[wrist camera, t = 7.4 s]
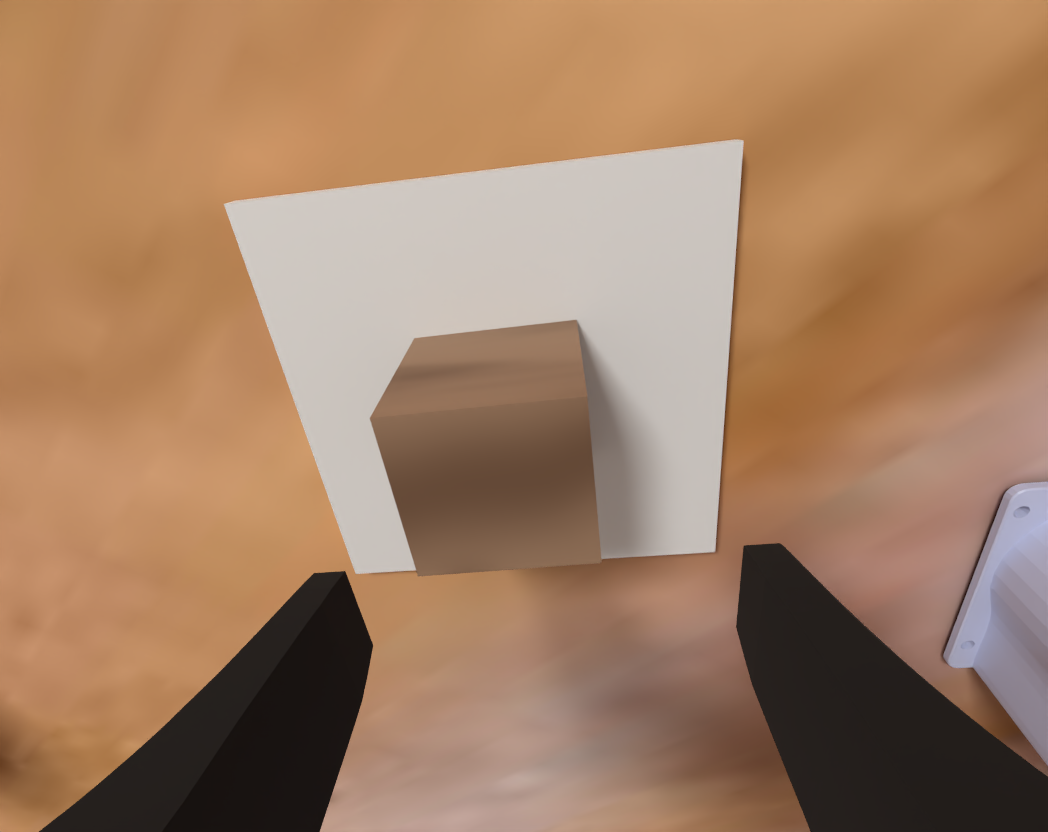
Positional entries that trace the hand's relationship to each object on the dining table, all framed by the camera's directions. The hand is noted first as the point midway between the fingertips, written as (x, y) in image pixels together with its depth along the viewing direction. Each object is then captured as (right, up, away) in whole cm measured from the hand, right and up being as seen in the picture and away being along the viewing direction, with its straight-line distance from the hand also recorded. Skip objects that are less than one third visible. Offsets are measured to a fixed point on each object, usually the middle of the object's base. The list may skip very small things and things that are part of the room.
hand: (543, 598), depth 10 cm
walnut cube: (-1, +4, +8) cm, 9 cm away
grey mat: (-1, +4, +9) cm, 9 cm away
